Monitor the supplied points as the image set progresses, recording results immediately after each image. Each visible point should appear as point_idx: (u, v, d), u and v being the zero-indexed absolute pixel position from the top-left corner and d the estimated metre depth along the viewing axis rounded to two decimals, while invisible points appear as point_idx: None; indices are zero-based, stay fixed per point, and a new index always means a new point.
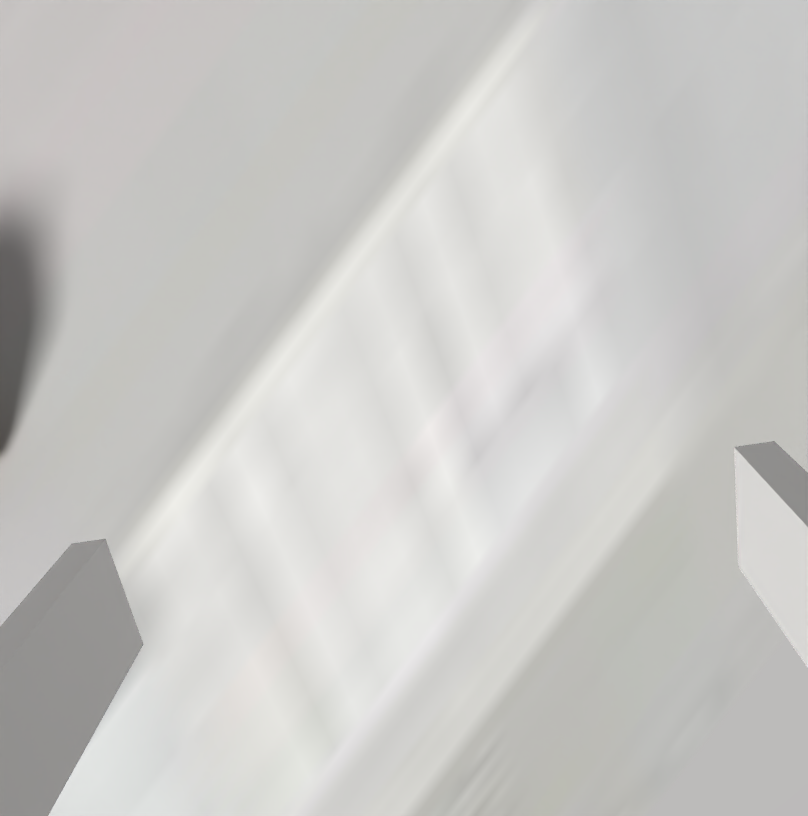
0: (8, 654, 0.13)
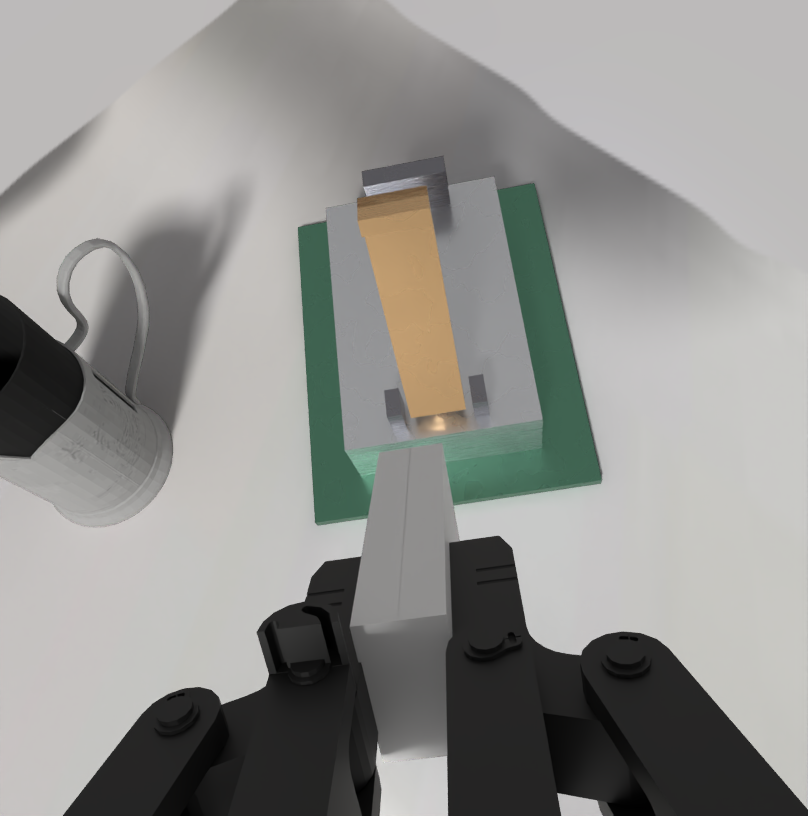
0: (398, 528, 0.14)
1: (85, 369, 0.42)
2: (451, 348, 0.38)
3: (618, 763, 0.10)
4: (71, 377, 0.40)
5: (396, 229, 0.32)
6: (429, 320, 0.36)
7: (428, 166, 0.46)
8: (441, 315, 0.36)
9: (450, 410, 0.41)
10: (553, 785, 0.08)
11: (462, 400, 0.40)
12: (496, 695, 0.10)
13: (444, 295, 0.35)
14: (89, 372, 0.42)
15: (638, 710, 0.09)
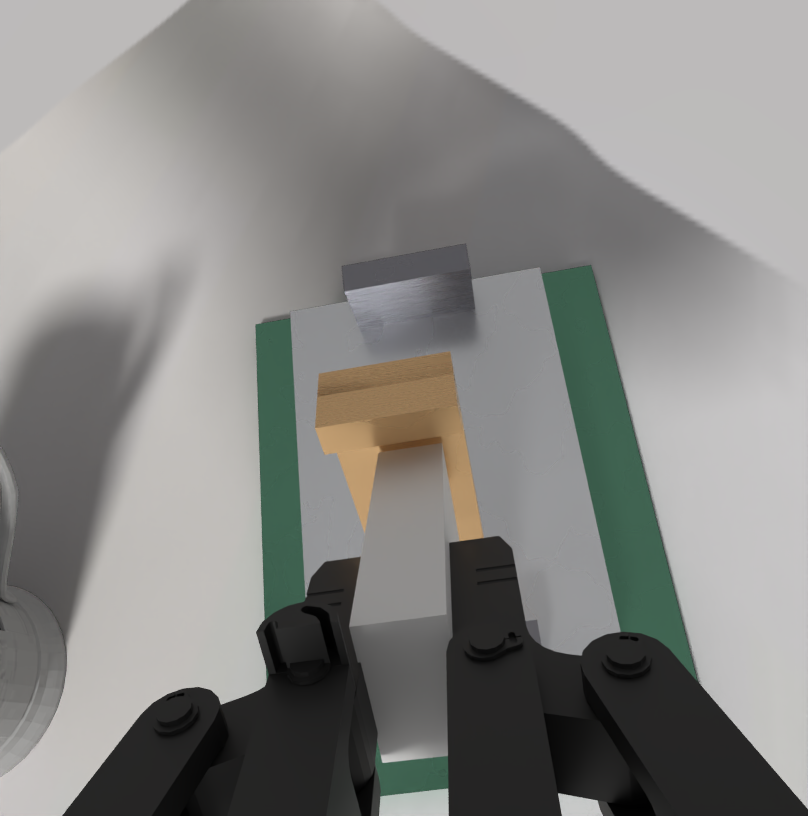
0: (397, 528, 0.14)
1: None
2: None
3: (618, 762, 0.10)
4: None
5: (392, 441, 0.16)
6: None
7: (443, 260, 0.30)
8: None
9: None
10: (553, 785, 0.08)
11: None
12: (496, 695, 0.10)
13: (479, 528, 0.20)
14: None
15: (638, 709, 0.09)
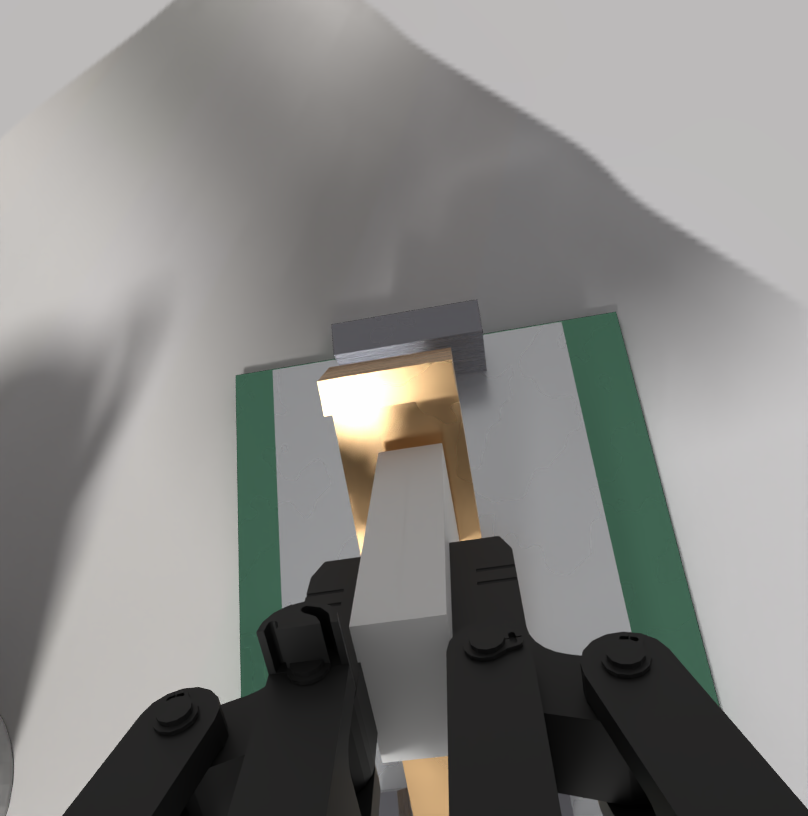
0: (397, 528, 0.14)
1: None
2: None
3: (618, 763, 0.10)
4: None
5: (389, 402, 0.17)
6: None
7: (450, 319, 0.25)
8: None
9: None
10: (554, 785, 0.08)
11: None
12: (497, 695, 0.10)
13: None
14: None
15: (638, 710, 0.09)
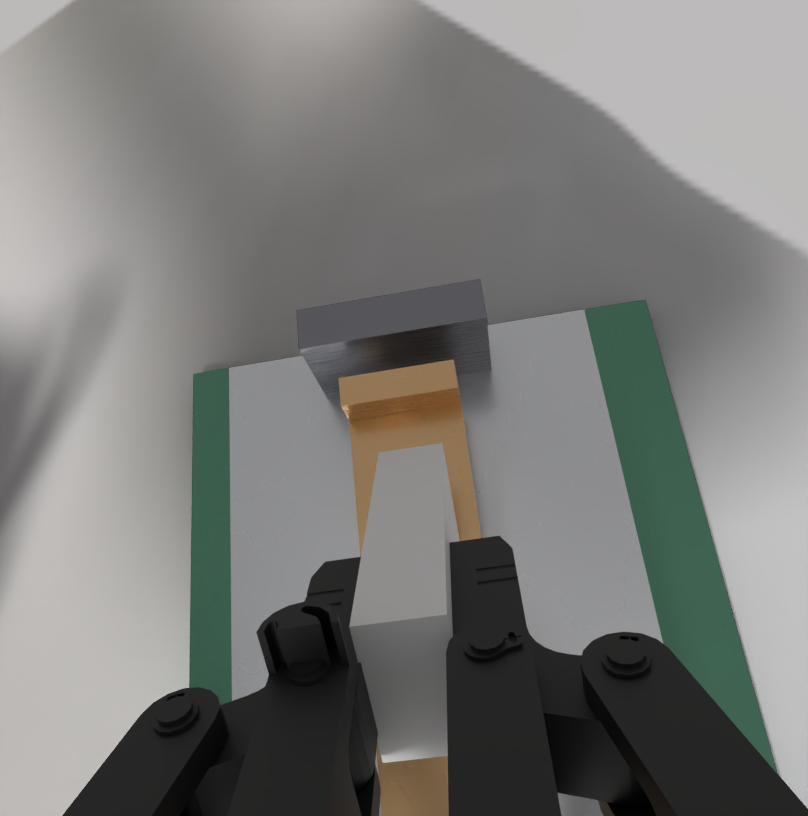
0: (397, 528, 0.14)
1: None
2: None
3: (618, 763, 0.10)
4: None
5: (398, 393, 0.19)
6: None
7: (446, 304, 0.20)
8: None
9: None
10: (553, 785, 0.08)
11: None
12: (496, 695, 0.10)
13: None
14: None
15: (638, 710, 0.09)
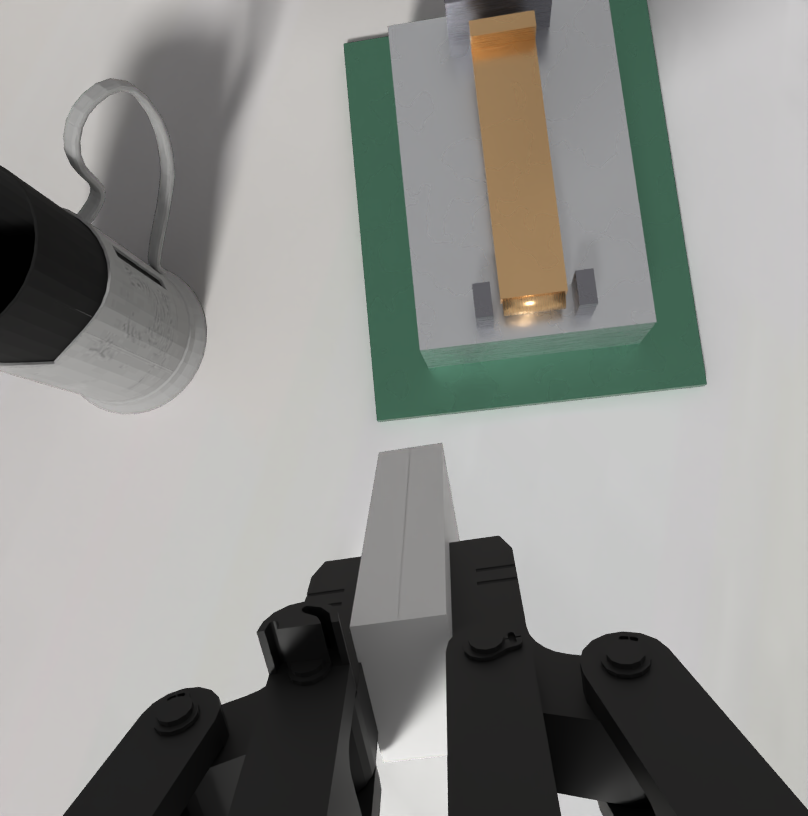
0: (397, 528, 0.14)
1: (107, 249, 0.34)
2: (551, 197, 0.35)
3: (618, 763, 0.10)
4: (93, 264, 0.32)
5: (503, 29, 0.35)
6: (528, 158, 0.35)
7: None
8: (541, 152, 0.35)
9: (549, 290, 0.34)
10: (553, 785, 0.08)
11: (563, 275, 0.34)
12: (496, 695, 0.10)
13: (545, 128, 0.35)
14: (112, 252, 0.34)
15: (638, 710, 0.09)
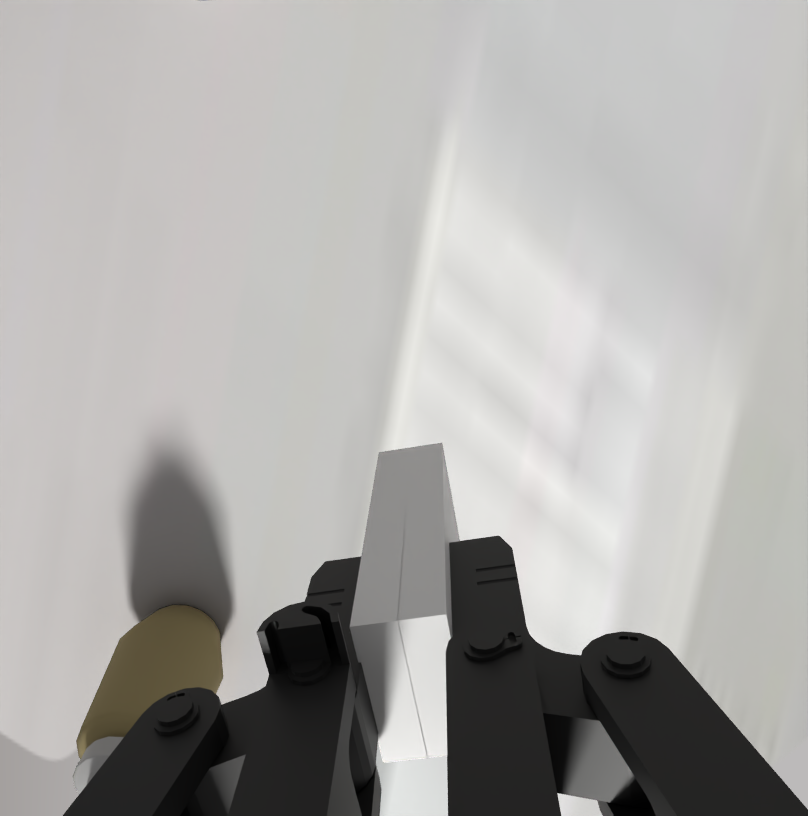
0: (397, 528, 0.14)
1: None
2: None
3: (618, 763, 0.10)
4: None
5: None
6: None
7: None
8: None
9: None
10: (553, 785, 0.08)
11: None
12: (496, 695, 0.10)
13: None
14: None
15: (638, 710, 0.09)
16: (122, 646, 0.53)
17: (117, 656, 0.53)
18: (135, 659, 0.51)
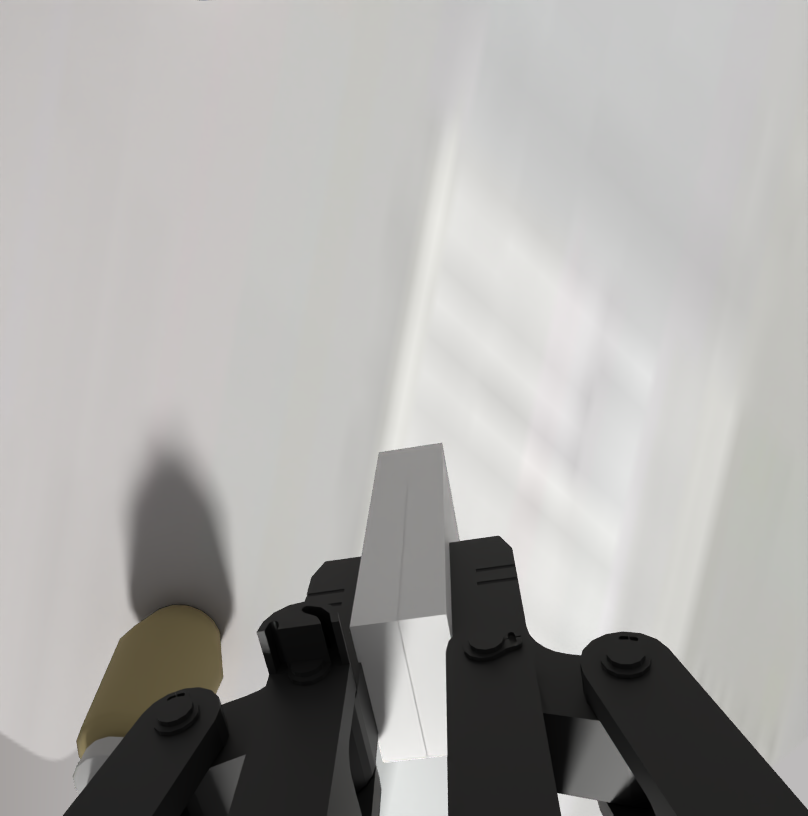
0: (397, 528, 0.14)
1: None
2: None
3: (618, 763, 0.10)
4: None
5: None
6: None
7: None
8: None
9: None
10: (553, 785, 0.08)
11: None
12: (496, 695, 0.10)
13: None
14: None
15: (638, 710, 0.09)
16: (122, 646, 0.53)
17: (117, 656, 0.53)
18: (135, 659, 0.51)
